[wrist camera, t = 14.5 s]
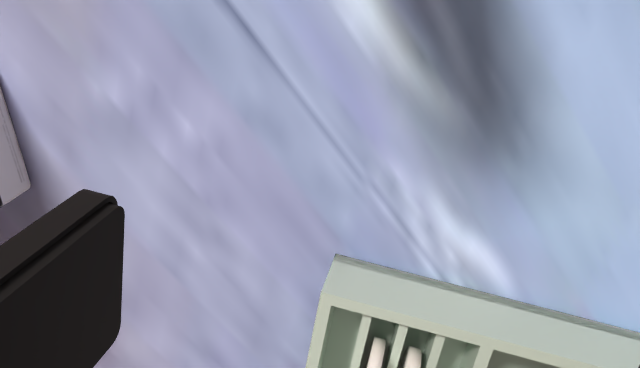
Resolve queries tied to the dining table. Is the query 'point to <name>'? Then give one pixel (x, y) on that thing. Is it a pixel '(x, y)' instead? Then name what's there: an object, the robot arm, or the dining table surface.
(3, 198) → the tea box
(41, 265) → the robot arm
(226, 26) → the dining table surface
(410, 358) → the racked plates
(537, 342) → the dish rack
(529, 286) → the dining table surface
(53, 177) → the dining table surface
